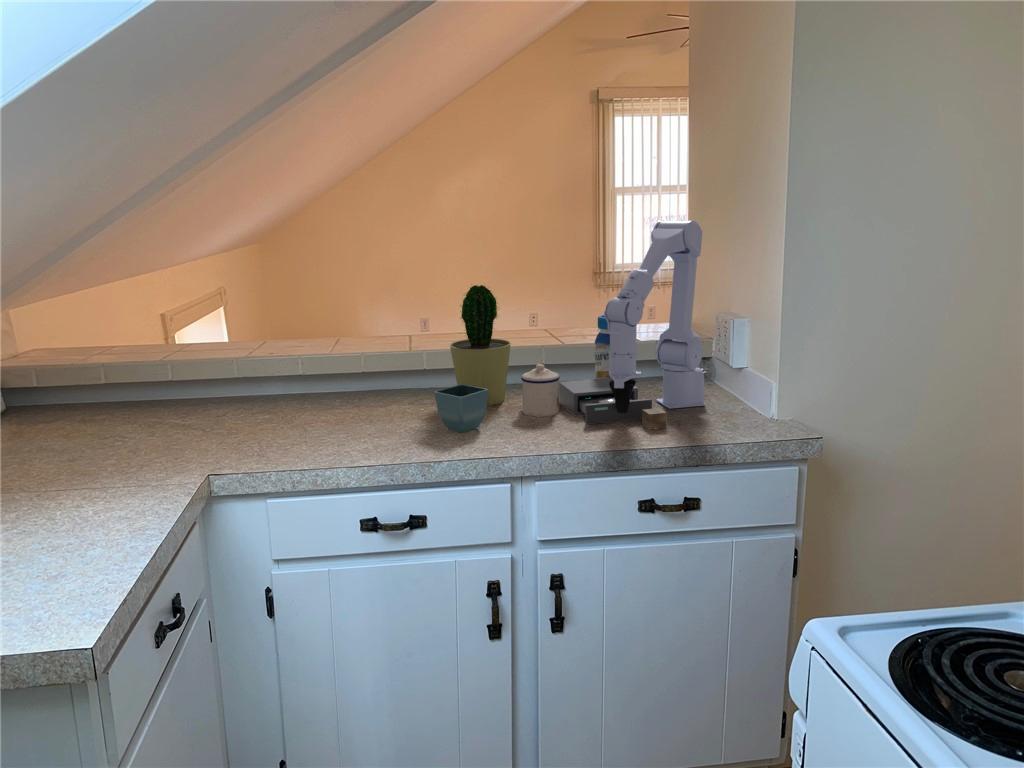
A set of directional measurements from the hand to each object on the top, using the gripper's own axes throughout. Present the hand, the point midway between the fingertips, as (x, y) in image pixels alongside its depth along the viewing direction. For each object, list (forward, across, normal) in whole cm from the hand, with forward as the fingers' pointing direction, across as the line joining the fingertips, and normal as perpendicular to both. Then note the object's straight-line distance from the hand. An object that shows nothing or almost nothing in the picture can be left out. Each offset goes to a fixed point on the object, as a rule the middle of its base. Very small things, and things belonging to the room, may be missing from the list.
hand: (622, 412), depth 166 cm
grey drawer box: (+3, +14, +8) cm, 16 cm away
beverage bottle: (+3, +29, +7) cm, 30 cm away
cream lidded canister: (+3, +8, +21) cm, 23 cm away
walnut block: (+3, 0, -7) cm, 8 cm away
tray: (+3, +7, +4) cm, 9 cm away
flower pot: (+3, -10, +34) cm, 36 cm away
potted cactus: (+3, +15, +38) cm, 40 cm away
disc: (+1, +7, +4) cm, 8 cm away
